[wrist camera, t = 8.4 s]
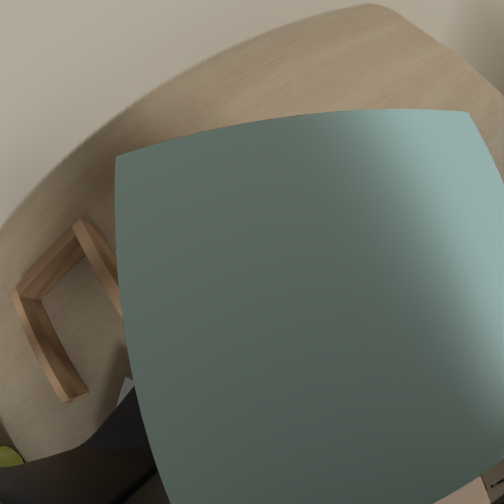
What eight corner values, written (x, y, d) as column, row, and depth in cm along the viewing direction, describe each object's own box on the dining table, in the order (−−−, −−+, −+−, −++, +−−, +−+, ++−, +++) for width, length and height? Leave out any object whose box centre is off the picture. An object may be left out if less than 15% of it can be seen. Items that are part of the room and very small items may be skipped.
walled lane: (164, 334, 20) (149, 335, 17) (83, 397, 19) (62, 404, 16) (99, 229, 22) (80, 217, 19) (31, 297, 21) (10, 293, 18)
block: (329, 353, 14) (536, 430, 2) (253, 369, 14) (194, 553, 2) (314, 278, 15) (467, 112, 2) (238, 293, 15) (115, 156, 2)
